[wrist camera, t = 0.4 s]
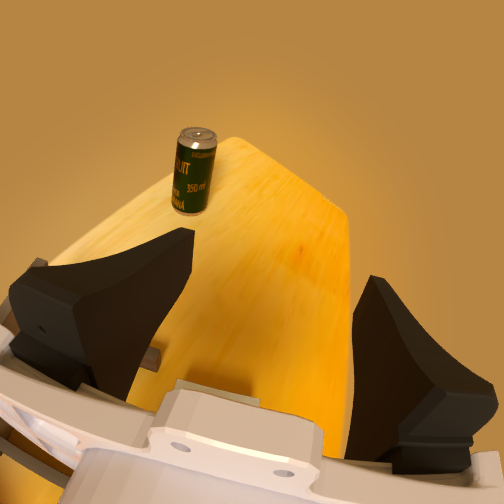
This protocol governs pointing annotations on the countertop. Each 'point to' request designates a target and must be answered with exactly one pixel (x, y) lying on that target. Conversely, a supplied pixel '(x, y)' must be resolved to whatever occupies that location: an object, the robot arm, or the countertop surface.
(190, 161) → the beer can
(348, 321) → the countertop surface
